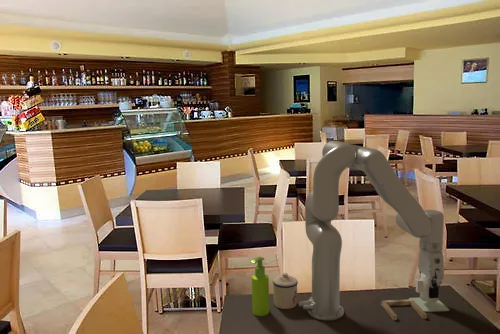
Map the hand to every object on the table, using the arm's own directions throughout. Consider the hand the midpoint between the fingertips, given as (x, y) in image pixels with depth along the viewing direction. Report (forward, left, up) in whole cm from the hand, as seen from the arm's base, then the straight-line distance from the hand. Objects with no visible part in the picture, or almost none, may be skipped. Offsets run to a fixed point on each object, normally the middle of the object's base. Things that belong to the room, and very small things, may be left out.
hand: (428, 293), depth 148 cm
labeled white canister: (0, 0, -2) cm, 2 cm away
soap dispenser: (-61, 0, -5) cm, 61 cm away
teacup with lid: (-51, +7, -5) cm, 52 cm away
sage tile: (0, 0, -4) cm, 4 cm away
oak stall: (-11, -4, -4) cm, 12 cm away
